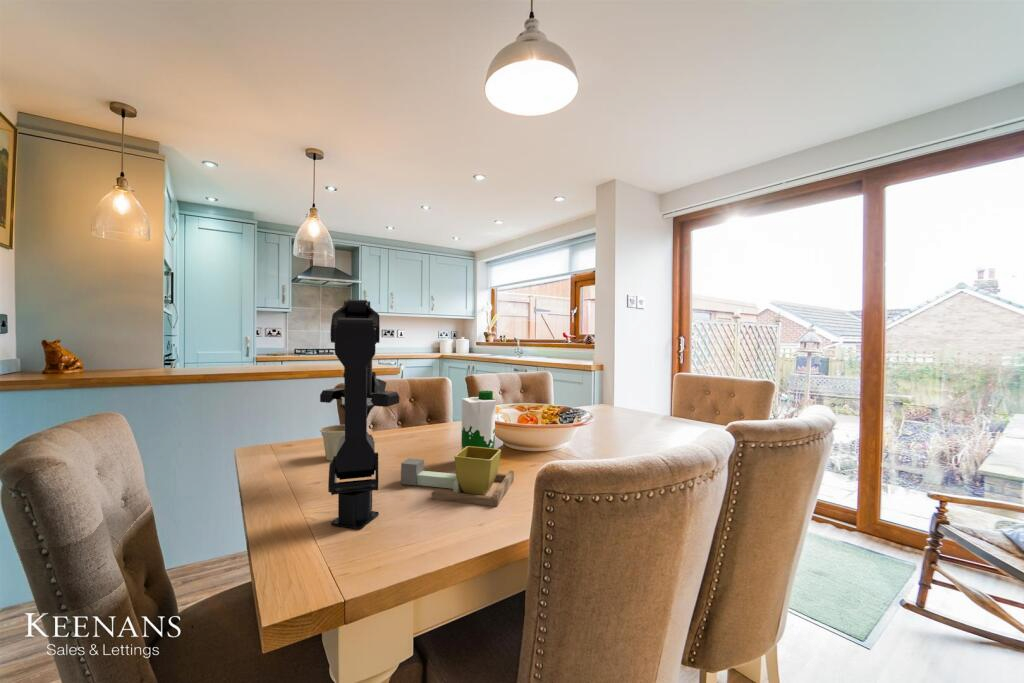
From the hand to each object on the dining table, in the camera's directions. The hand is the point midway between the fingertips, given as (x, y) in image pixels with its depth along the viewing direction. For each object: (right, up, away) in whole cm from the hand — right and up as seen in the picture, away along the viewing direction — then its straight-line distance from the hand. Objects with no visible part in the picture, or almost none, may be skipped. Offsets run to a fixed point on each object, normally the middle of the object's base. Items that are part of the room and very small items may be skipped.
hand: (359, 432), depth 100 cm
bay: (+28, -13, -4) cm, 31 cm away
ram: (+19, -12, -1) cm, 22 cm away
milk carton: (+28, -12, +16) cm, 34 cm away
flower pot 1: (-13, -12, +18) cm, 25 cm away
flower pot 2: (+29, -13, -4) cm, 32 cm away
